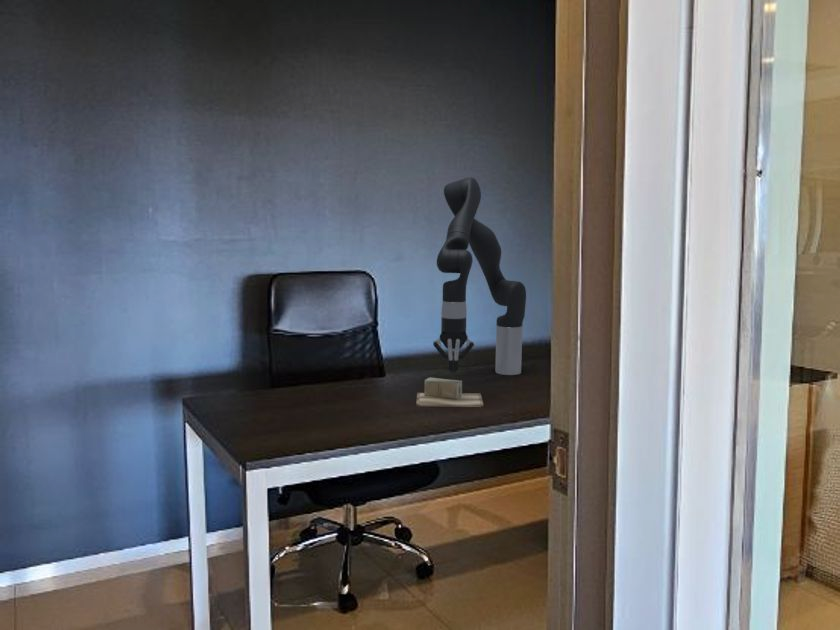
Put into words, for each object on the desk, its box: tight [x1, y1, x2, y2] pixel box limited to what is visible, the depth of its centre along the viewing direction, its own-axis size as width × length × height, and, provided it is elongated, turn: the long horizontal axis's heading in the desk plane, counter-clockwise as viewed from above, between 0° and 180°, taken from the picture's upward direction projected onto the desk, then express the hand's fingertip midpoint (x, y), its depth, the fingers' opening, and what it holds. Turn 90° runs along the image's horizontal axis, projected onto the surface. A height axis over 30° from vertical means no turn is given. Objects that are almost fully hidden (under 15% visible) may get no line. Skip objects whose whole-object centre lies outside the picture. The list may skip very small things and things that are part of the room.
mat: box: [415, 392, 484, 408], centre depth 226 cm, size 14×20×1 cm
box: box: [423, 377, 463, 399], centre depth 229 cm, size 5×4×11 cm
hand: (453, 371), depth 225 cm, fingers closed
